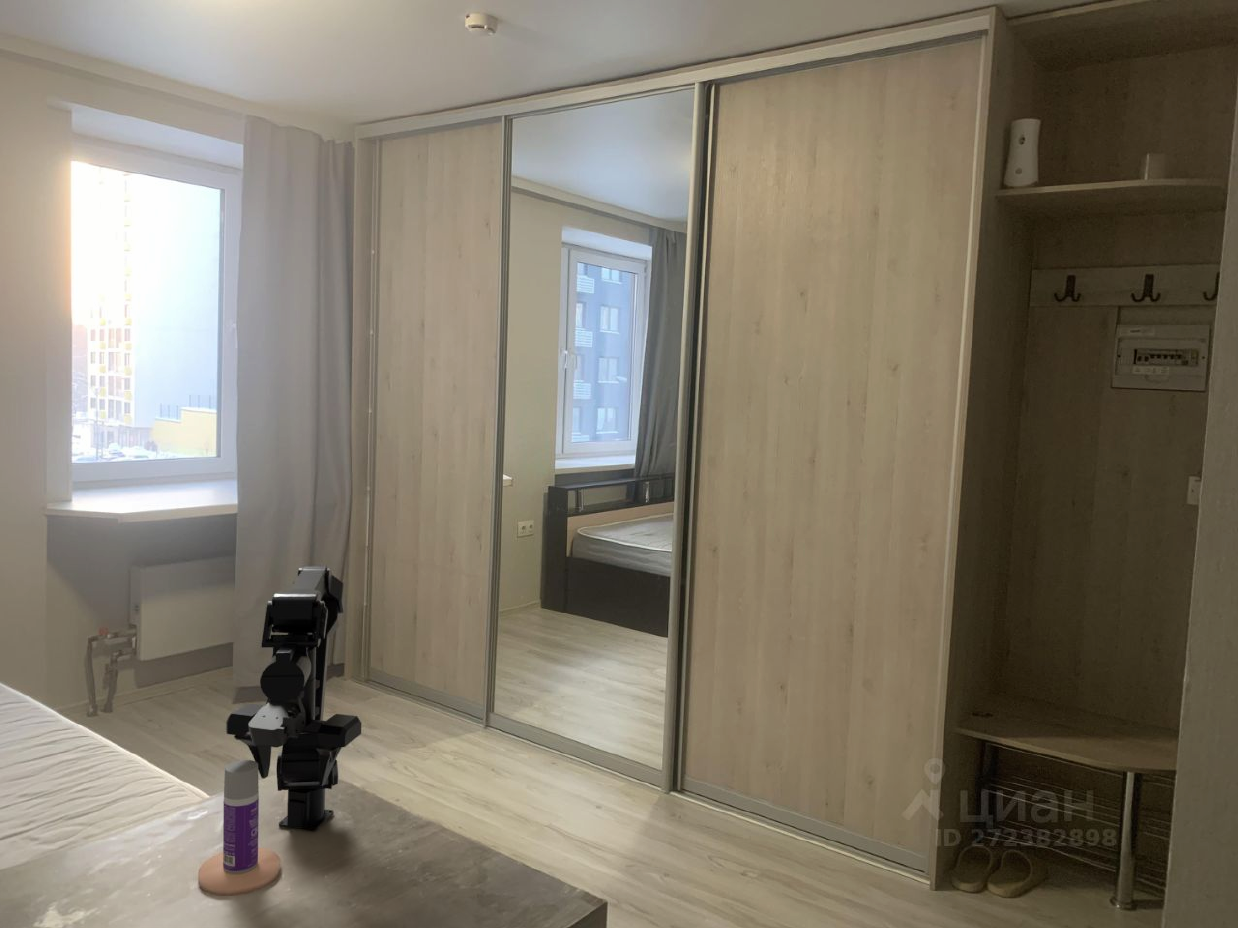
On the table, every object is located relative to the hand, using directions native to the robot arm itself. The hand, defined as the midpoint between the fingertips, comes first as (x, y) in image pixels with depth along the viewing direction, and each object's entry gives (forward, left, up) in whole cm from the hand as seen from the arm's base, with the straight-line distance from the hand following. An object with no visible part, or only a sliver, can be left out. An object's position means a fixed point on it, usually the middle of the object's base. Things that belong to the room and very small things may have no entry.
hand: (293, 781), depth 133 cm
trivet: (+4, -6, -13) cm, 15 cm away
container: (+4, -6, -12) cm, 14 cm away
